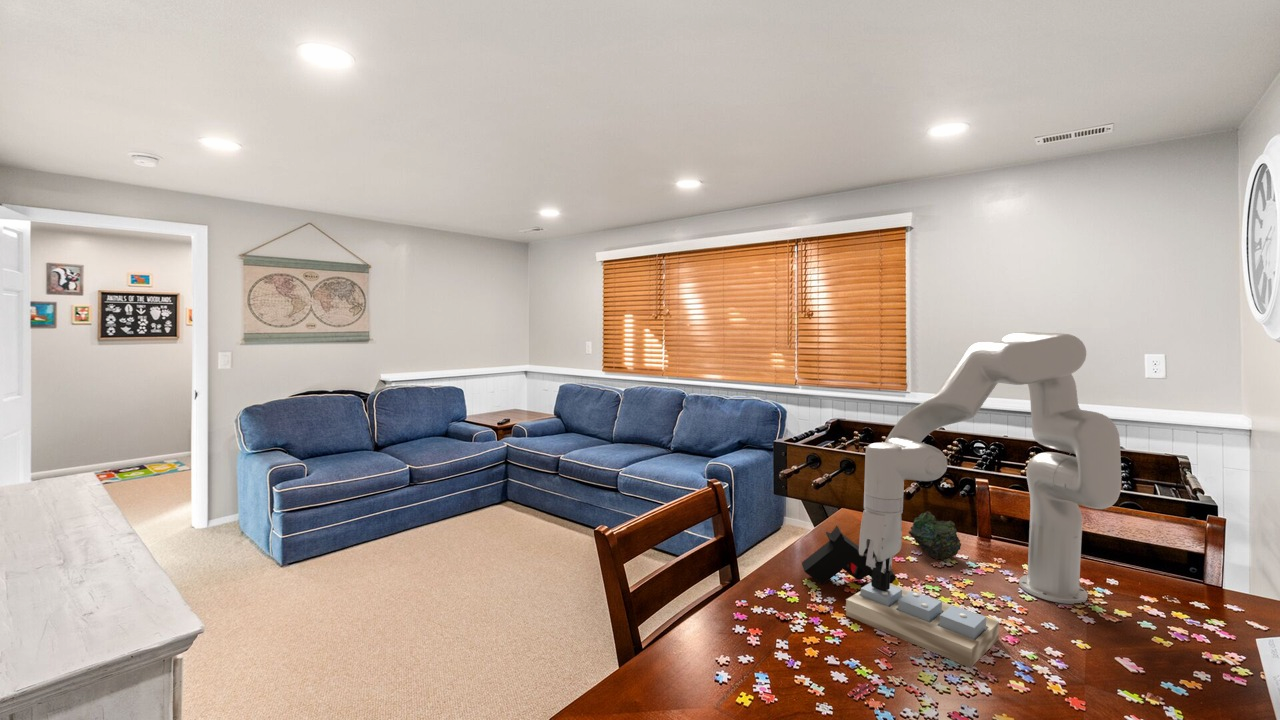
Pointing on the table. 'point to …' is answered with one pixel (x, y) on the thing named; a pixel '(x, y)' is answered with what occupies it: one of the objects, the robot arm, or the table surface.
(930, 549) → the rock
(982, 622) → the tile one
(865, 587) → the tile three
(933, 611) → the tile two
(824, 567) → the toy gun
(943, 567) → the table surface
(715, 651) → the table surface
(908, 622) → the board
